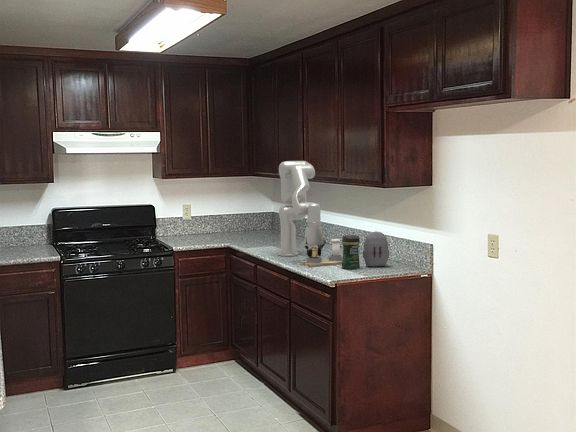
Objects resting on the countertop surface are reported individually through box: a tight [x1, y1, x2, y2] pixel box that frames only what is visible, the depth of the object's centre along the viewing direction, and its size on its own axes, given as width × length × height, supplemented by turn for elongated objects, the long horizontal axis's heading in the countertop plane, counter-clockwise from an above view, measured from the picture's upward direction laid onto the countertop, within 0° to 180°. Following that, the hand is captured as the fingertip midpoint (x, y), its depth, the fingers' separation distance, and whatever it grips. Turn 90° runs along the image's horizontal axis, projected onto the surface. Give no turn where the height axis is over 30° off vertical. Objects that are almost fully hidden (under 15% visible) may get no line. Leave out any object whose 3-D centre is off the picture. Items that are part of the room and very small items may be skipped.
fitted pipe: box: [327, 238, 343, 261], centre depth 378 cm, size 8×8×12 cm
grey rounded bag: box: [362, 231, 390, 268], centre depth 363 cm, size 15×8×20 cm, turn 92°
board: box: [299, 258, 342, 268], centre depth 376 cm, size 14×24×2 cm, turn 113°
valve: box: [310, 246, 319, 259], centre depth 373 cm, size 6×5×9 cm
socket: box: [306, 256, 323, 263], centre depth 373 cm, size 8×8×2 cm
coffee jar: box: [341, 234, 361, 270], centre depth 359 cm, size 10×8×19 cm
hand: (314, 255), depth 373 cm, fingers open, 5 cm apart
